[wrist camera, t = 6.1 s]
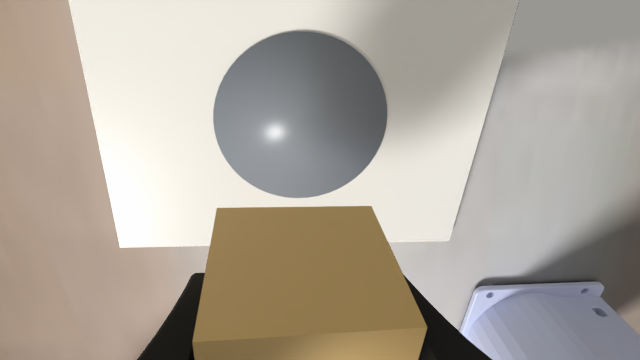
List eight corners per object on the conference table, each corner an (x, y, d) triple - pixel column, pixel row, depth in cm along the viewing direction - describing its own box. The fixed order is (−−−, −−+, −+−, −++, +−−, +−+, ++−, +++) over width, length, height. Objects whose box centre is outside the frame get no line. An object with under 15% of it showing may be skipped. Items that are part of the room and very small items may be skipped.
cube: (371, 205, 13) (427, 327, 9) (354, 313, 15) (391, 451, 11) (216, 208, 12) (192, 342, 8) (224, 320, 14) (208, 471, 10)
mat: (520, -32, 16) (530, -32, 16) (444, 234, 23) (449, 242, 22) (60, -77, 14) (50, -79, 13) (123, 240, 20) (119, 248, 20)
